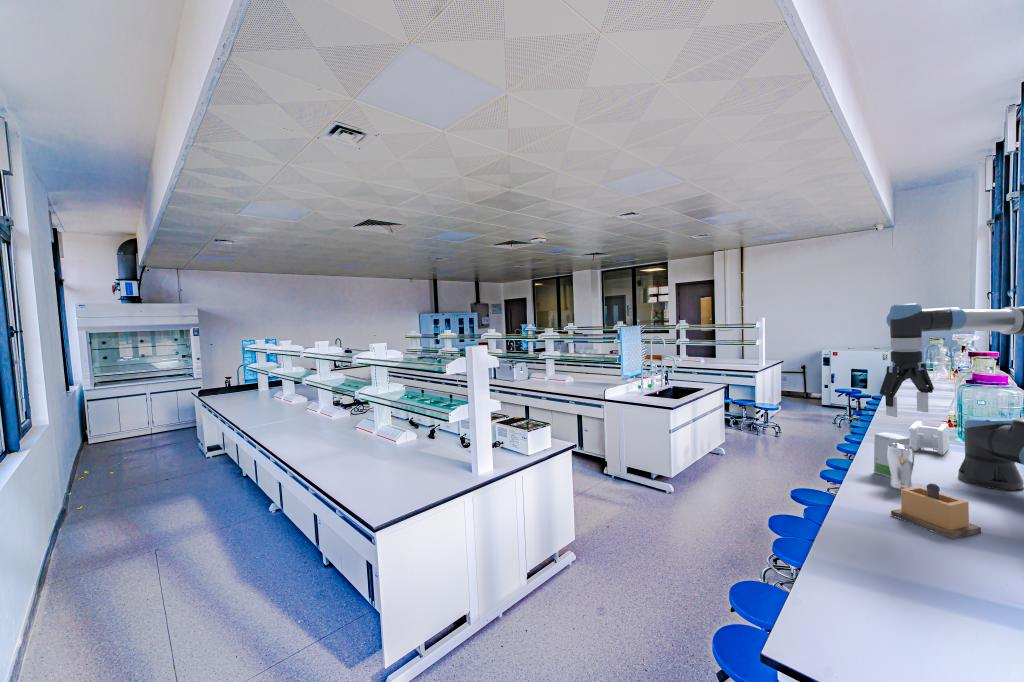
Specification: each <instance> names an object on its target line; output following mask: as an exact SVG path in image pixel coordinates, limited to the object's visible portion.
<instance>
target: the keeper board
mask: <svg viewBox="0 0 1024 682" xmlns="http://www.w3.org/2000/svg"><path fill="white" fill-rule="evenodd" d="M925 488H926V489H927V495H928V497H931V498H934V499H937V500H939V493H940V491H941V489H940V486H939V485H938V484H936V483H928V484H927V485H926V487H925ZM890 515H893V516H892V517H894V516H896V517H899V518H901V519H903V520H902V521H904V520H906V521H905V522H907V521H908V522H907V523H909V522H911V523H910V524H912V523H913V525H914V524H915V525H914V526H917V525H918V526H917V527H919V526H921V527H920V528H922V527H923V528H922V529H924V528H926V529H925V530H927V529H928V530H927V531H930V530H932V531H934V532H933V533H935V532H936V533H935V534H937V533H938V534H937V535H940V534H941V535H940V536H942V535H943V537H945V536H946V537H945V538H947V537H948V539H950V540H956V539H960V538H964V537H968V536H973V535H977V534H980V533H982V527H981V526H978V525H975V524H972V523H970V522H969V526H967V527H962V528H958V529H954V530H949V529H946V528H944V527H941V526H938V525H936V524H933V523H930V522H928V521H925V520H922V519H920V518H917V517H914V516H912V515H909V514H906V513H904V512H902V510H901V508H898V509H894V510H893V509H892V510H890ZM896 517H895V518H896ZM899 518H898V519H899ZM901 519H900V520H901ZM932 531H931V532H932ZM955 538H956V539H955Z"/></svg>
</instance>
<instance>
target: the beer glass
mask: <svg viewBox="0 0 1024 682" xmlns="http://www.w3.org/2000/svg"><path fill="white" fill-rule="evenodd" d="M914 452H915V451H914V450H913V447H912V446H909V445H905V444H896V443H892V444H888V450H887V460H888V465H889V469H890V473H891V478H890V482H889V487H890V488H892V489H895V490H898V491H901V489H906V488H911V487H913V484H912V476H913V471H914V465H915V454H914Z"/></svg>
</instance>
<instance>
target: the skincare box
mask: <svg viewBox="0 0 1024 682" xmlns="http://www.w3.org/2000/svg"><path fill="white" fill-rule="evenodd" d="M873 442H874V445H873V446H874V452H873V453H874V454H873V455H874V456H873V473H875V474H878V475H882V476H884V477H887V478H890V479H891V473H890V469H889V465H888V460H887V450H888V444H892V443H896V444H905V445H909V446H910V437H908V436H904V435H900V434H897V433H896V434H895V433H891V432H888V431H884V432H879V433H878V432H877V433H874V441H873Z"/></svg>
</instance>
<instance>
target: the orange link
mask: <svg viewBox="0 0 1024 682" xmlns="http://www.w3.org/2000/svg"><path fill="white" fill-rule="evenodd" d="M900 500H901V502H900V505H901V506H900V507H901V508H900V509H901V510H902V512H904V513H906V514H909V515H912V516H914V517H917V518H920V519H922V520H925V521H928V522H930V523H933V524H936V525H938V526H941V527H944V528H946V529H949V530H954V529H958V528H962V527H967V526H969V523H970V517H969V516H970V515H969V514H970V512H969V508H970V507H969V506H970V505H969V501H967V500H964V499H961V498H958V497H954V496H951V495H949V494H944V493H941V492H939V500H937V499H934V498H931V497H928V495H927V488H926V487H922V486H919V485H918V486H917V485H916V486H912V487H911V488H906V489H901V490H900Z"/></svg>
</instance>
